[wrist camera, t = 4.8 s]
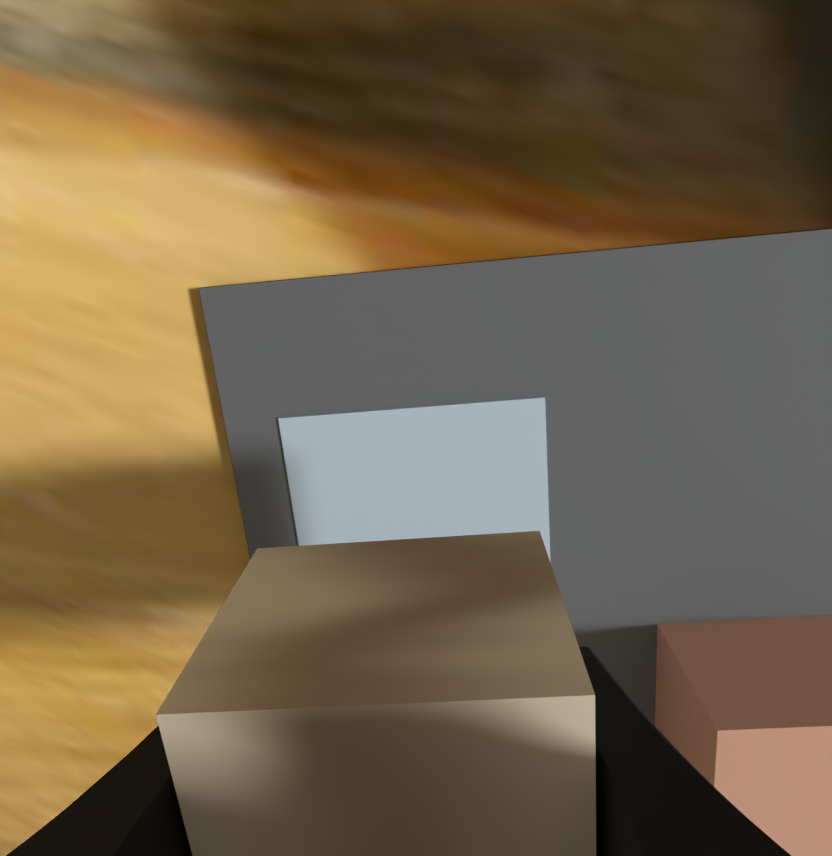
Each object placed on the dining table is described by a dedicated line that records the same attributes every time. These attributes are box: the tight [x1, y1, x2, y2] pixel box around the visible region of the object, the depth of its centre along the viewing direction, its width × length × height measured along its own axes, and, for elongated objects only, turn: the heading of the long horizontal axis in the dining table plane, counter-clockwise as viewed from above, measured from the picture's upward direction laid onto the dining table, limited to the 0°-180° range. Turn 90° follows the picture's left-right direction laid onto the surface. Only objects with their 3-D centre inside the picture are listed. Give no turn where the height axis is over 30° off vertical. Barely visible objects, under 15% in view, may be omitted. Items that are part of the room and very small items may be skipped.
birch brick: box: [156, 531, 596, 856], centre depth 9 cm, size 5×5×4 cm
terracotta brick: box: [655, 615, 832, 856], centre depth 16 cm, size 5×5×4 cm
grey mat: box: [199, 228, 832, 725], centre depth 17 cm, size 20×16×1 cm
